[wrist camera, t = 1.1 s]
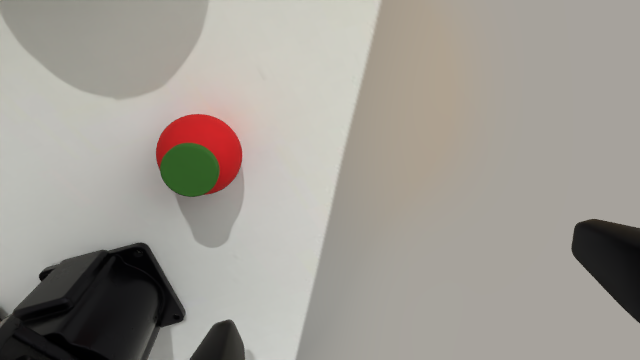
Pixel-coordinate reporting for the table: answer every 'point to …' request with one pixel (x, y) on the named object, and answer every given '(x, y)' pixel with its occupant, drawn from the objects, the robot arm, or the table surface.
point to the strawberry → (198, 155)
